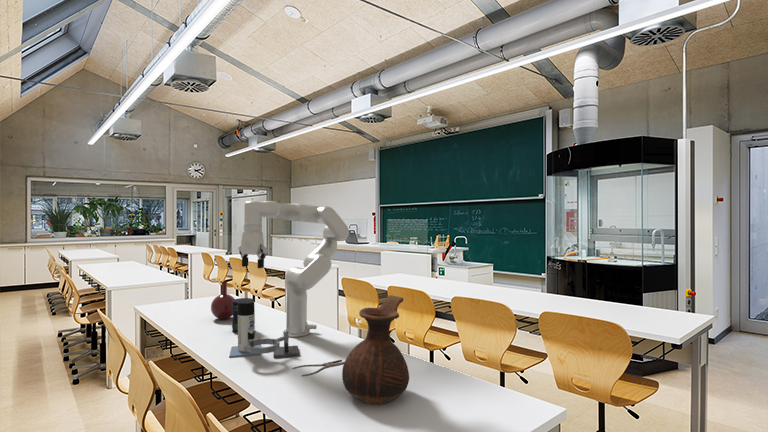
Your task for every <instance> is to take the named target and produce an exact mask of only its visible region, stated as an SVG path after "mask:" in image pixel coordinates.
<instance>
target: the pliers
mask: <svg viewBox="0 0 768 432" xmlns="http://www.w3.org/2000/svg"><path fill="white" fill-rule="evenodd" d="M344 362H345V361H342V359H337V360H333V361H332V360H331V361H328V362H324V363H321V364H319V363H317V364H304V365H303V364H301V365H299V366H297V365H296V366H295V367H292V370H295V369H298V368H306V367H321V368H319V369H317V370H316V371H313V372H310V373H306V374H301V377H308V376H312V375H315V374H317V373H319V372H321V371H323V370H324V369H327V368H331V367H332V368H333V367H337V366H341V365H344Z"/></svg>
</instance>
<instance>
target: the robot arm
mask: <svg viewBox="0 0 768 432" xmlns="http://www.w3.org/2000/svg"><path fill="white" fill-rule="evenodd" d="M243 206H244V208H243V209H244V211H243V212H244V213H243V214H244V217H243V218H244V219H243V220H244V223H243V225H244V226H243V232H242V235H241V241H240V244H241V245H240V246H239V247H238V248H237V249H238V251H239V252H238V253H239V255H240V258H241V268H245V267H249V257H248V256H249V255H251V256H252V255H253V256H255V255H256V256H257V269H264V267H265V259H266V257H267V255H268V252H269V249H268V248H267V247H265V241H264V240H265V239H264V232H262V231H263V218H269V219H275V220H276V219H279V220H286V221H290V222H291V221H292V222H300V223H311V224H324V225H325V226H324V227H323V230H322V241H321V243H320V245H318V246H317V247H316V248H315V249H314V250H313V251H312V252H310V253H309V254H308V255H307V256H306V257H305V258H304V260H303V267H304V268H303V267H299V266H293V267H291V268H290V269H288V270H287V272H286V274H285V275H284V276H285V277H284V278H285V279H284V281H285V282H284V283H285V289H286V290H285V291H286V319H285V320H286V323H285V325H286V328H285V329H284V330H283V331H282V336H284V331H289V337H290V338H300V337H304V336H308V335H309V334H310V333H311V330H317V328H318V327H317V324H313V323H312V324H309V323H308V320H307V319H308V318H307V317H308V314H307V313H308V309H307V308H308V306H307V305H308V303H307V302H308V293H307V291H308V290H311V289H312V288H314V287H315V286H316V285H317V284H318V283H319V282H320V281H321V280H322V279H323V278H324V277H326V275H328V273H329V272H330V270H331V268H332V260H331V259H332V258H333V256H334V255H335V254H336V252H337V248H338V242H343V241H346V240H347V239H348V237H349V235H350V229H349V227H348V225H347V224H346V223H345V222H344V220H343V219H342V218H341V216H340V215H339V214H338V212H336V210H335V209H334V208H333V207H331V206H328V205H327V206H322V205H321V206H320V205H312V204H306V203H305V204H304V203H303V204H302V203H282V202H281V203H280V202H277V201H274V200H264V201H257V200H248V201H245V202H244V205H243Z"/></svg>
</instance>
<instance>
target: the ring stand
mask: <svg viewBox="0 0 768 432" xmlns="http://www.w3.org/2000/svg"><path fill="white" fill-rule="evenodd" d="M283 331H284V330H283ZM281 342H283V346H280V343H281ZM256 345H261V348H259V347H253V346H256ZM262 345H270V346H264V347H263V346H262ZM247 351H248V352H250V353H255V354H261V355H263V354H269V353H273V359H279V358H280V359H281V358H293V357H300V349H299V345H289V331H284V335H282V336H281V337H278V338H257V339H255V340H252V341H250V342H248V343H247Z"/></svg>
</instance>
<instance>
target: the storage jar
mask: <svg viewBox="0 0 768 432" xmlns="http://www.w3.org/2000/svg"><path fill="white" fill-rule="evenodd" d="M245 300H246V301H254V299H253V298H249V297H241V298H234V300H233V301H232V302H233V304H232V305H233V306H232V312H233V315H232V320H231V321H232V322H231V327H232V328H231V329H232V333H233V334H237V335H238V302H240V301H245Z"/></svg>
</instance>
